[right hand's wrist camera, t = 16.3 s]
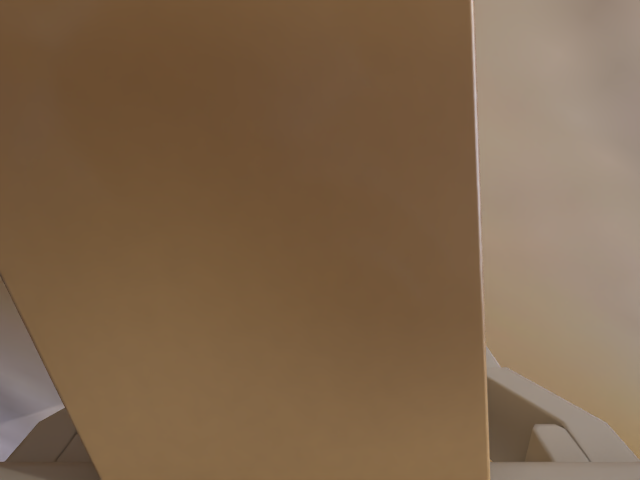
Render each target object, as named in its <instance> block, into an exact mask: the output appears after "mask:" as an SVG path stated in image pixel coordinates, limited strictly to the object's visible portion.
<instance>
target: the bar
mask: <svg viewBox="0 0 640 480" xmlns="http://www.w3.org/2000/svg"><path fill="white" fill-rule="evenodd" d="M0 276H1V278H2V280H3V282H4V284H5V286H6V288H7V290H8V292H9V294H10V296H11V298H12V300H13V302H14V304H15V306H16V309H17V311H18V313H19V315H20V317H21V319H22V321H23V323H24V325H25V327H26V329H27V331H28V333H29V335H30V337H31V339H32V341H33V343H34V345H35V347H36V349H37V351H38V353H39V355H40V357H41V359H42V361H43V364H44V366H45V368H46V370H47V372H48V374H49V376H50V378H51V380H52V382H53V384H54V386H55V388H56V390H57V392H58V394H59V396H60V398H61V400H62V402H63V404H64V406H65V408H66V410H67V412H68V414H69V417H70V419H71V421H72V423H73V425H74V427H75V429H76V431H77V433H78V435H79V437H80V439H81V441H82V443H83V445H84V447H85V449H86V451H87V453H88V455H89V457H90V459H91V461H92V463H93V465H94V467H95V470H96V472H97V474H98V476H99V478H100V480H490V452H489V423H488V393H487V364H486V335H485V305H484V276H483V247H482V218H481V188H480V159H479V130H478V101H477V71H476V42H475V13H474V0H0Z"/></svg>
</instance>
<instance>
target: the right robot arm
mask: <svg viewBox="0 0 640 480" xmlns="http://www.w3.org/2000/svg"><path fill="white" fill-rule="evenodd" d="M486 364H487V393H488V423H489V452H490V459H491V460H492V461H493V462H490V480H640V460H639V459H638V458H637V457H636V456H635V454H634V453H633V452H632V451H631V450H630V449H629V448H628V446H627V445H626V444H625V443H624V442H623V441H622V440H621V438H620V437H619V436H618V435H617V434H616V433H615V432H614V430H613V429H612V428H611V427H610V426H609V425H608V424H607V423H606V422H604V421H602V420H601V419H599V418H597V417H595V416H593V415H592V414H590V413H588V412H586V411H584V410H583V409H581V408H579V407H577V406H575V405H574V404H572V403H570V402H568V401H566V400H565V399H563V398H561V397H559V396H557V395H556V394H554V393H552V392H550V391H548V390H547V389H545V388H543V387H541V386H539V385H538V384H536V383H534V382H532V381H530V380H529V379H527V378H525V377H523V376H521V375H520V374H518V373H516V372H514V371H512V370H511V369H509V368H503V367H500V365H499V364H498V362H497V361H496V359H495V358H494V356H493V355H492V353H491V352H490V351H489V349H488V348H487V346H486ZM0 480H100V478H99V476H98V474H97V472H96V470H95V467H94V465H93V463H92V461H91V459H90V457H89V455H88V453H87V451H86V449H85V447H84V445H83V443H82V441H81V439H80V437H79V435H78V433H77V431H76V429H75V427H74V425H73V423H72V421H71V419H70V417H69V414H68V412H67V410H66V408H64V409H62V410H60V411H58V412H57V413H55V414H53V415H51V416H49V417H48V418H46V419H44V420H42V421H40V422H39V423H38V424H37V425H36V426H35V427H34V429H33V430H32V431H31V432H30V433H29V434H28V435H27V437H26V438H25V439H24V440H23V441H22V442H21V444H20V445H19V446H18V447H17V448H16V449H15V450H14V452H13V453H12V454H11V455H10V456H9V457H8V459H7V460H6V461H5V462H0Z"/></svg>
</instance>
